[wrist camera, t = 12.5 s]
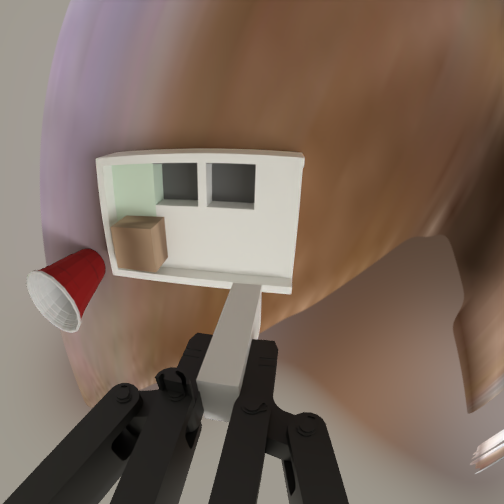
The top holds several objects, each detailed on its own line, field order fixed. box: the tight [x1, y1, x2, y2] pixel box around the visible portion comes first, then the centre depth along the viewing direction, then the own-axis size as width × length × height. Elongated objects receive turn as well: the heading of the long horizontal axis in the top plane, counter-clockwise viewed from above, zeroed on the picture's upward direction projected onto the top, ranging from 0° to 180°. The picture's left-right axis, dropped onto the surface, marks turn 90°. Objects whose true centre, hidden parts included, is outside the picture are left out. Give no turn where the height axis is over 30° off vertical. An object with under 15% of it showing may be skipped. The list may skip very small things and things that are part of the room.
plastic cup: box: [26, 249, 105, 333], centre depth 37 cm, size 11×11×12 cm
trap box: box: [96, 148, 305, 294], centre depth 34 cm, size 24×16×5 cm, turn 88°
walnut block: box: [111, 215, 168, 272], centre depth 33 cm, size 6×6×4 cm
